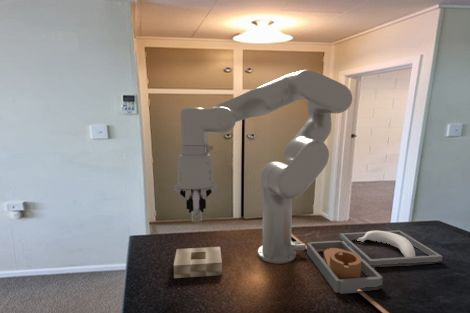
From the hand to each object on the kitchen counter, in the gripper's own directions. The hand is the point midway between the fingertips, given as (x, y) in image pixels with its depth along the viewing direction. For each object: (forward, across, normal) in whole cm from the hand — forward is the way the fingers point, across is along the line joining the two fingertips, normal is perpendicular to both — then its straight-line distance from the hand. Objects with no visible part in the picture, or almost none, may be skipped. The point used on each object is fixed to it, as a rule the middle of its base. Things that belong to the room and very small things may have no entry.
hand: (196, 210), depth 86 cm
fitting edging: (+18, -43, +6) cm, 47 cm away
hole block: (+18, 0, 0) cm, 19 cm away
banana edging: (+18, -64, -3) cm, 67 cm away
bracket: (+19, -43, +6) cm, 48 cm away
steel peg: (+3, 0, 0) cm, 3 cm away
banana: (+18, -64, -3) cm, 67 cm away
